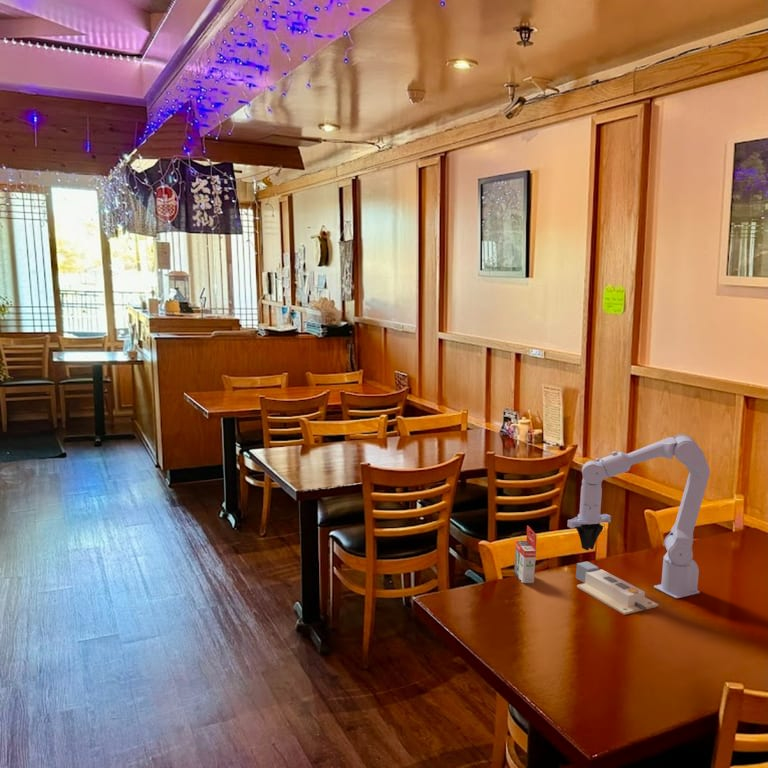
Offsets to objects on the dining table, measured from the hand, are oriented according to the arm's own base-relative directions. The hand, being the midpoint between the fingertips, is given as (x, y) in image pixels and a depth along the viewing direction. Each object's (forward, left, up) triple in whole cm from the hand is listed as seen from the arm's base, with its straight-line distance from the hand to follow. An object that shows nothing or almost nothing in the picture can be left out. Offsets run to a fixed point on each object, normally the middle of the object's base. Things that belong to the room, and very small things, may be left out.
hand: (587, 548), depth 194 cm
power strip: (0, +13, -9) cm, 16 cm away
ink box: (+16, -8, -10) cm, 20 cm away
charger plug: (0, +2, -9) cm, 10 cm away
